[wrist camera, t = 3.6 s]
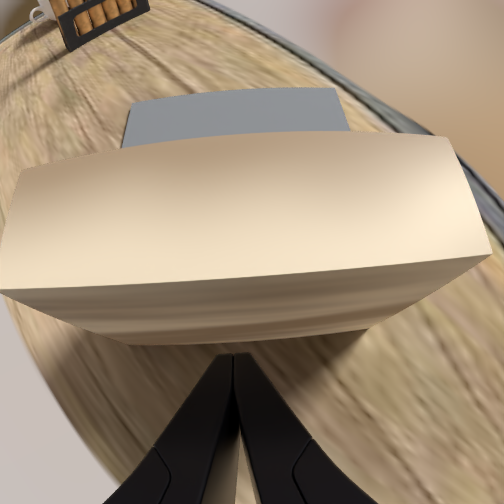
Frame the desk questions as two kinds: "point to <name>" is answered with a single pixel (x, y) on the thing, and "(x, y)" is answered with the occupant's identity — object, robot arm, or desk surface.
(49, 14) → the teacup
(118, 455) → the desk surface
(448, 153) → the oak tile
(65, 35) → the ammunition clip
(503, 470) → the desk surface
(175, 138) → the mat
